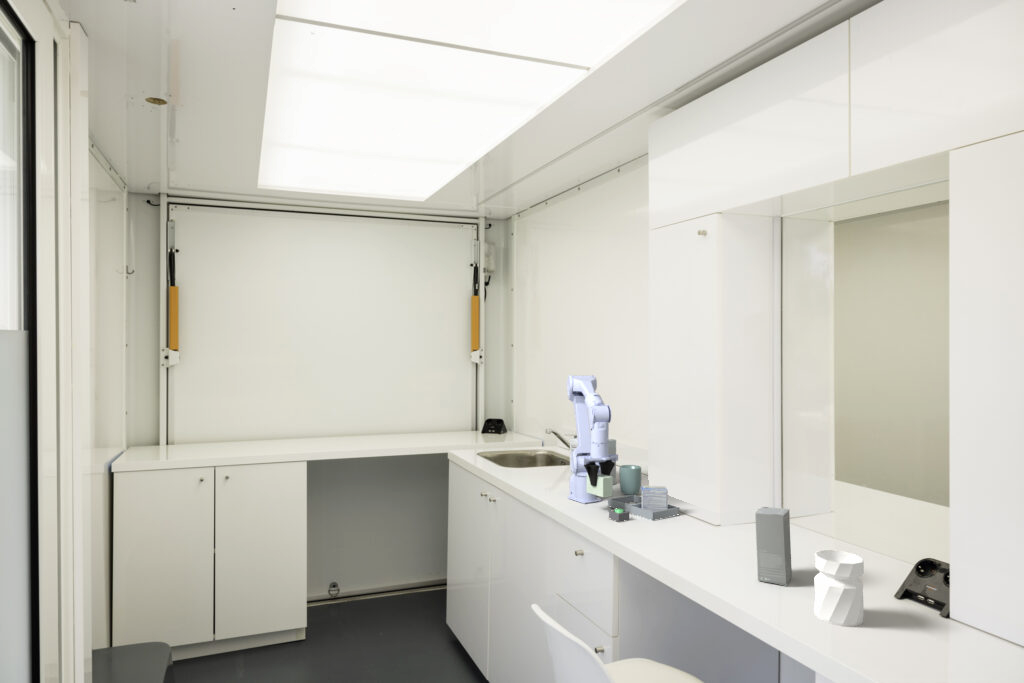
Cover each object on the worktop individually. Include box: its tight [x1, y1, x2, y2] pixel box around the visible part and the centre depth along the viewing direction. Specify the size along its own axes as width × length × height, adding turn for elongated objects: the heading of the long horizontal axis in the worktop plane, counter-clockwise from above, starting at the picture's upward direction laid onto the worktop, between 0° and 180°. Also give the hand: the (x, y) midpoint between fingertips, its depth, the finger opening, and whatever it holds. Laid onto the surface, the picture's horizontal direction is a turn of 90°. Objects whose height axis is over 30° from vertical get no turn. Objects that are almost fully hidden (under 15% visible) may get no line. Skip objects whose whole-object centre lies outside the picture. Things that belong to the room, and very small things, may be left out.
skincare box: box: [754, 506, 793, 587], centre depth 147 cm, size 8×7×16 cm
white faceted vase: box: [813, 549, 865, 627], centre depth 126 cm, size 9×9×12 cm
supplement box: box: [569, 435, 617, 485], centre depth 249 cm, size 13×13×18 cm
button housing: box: [608, 509, 630, 522], centre depth 197 cm, size 4×4×2 cm
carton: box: [587, 473, 614, 498], centre depth 205 cm, size 8×4×6 cm, turn 33°
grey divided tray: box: [607, 494, 680, 521], centre depth 208 cm, size 21×12×2 cm, turn 33°
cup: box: [618, 464, 642, 496], centre depth 231 cm, size 8×8×10 cm
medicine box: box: [640, 485, 669, 512], centre depth 204 cm, size 8×4×9 cm, turn 84°
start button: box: [614, 508, 623, 513], centre depth 197 cm, size 3×3×3 cm
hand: (599, 484), depth 205 cm, fingers closed on carton, 4 cm apart
